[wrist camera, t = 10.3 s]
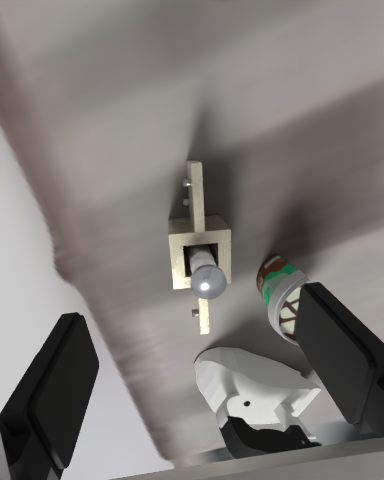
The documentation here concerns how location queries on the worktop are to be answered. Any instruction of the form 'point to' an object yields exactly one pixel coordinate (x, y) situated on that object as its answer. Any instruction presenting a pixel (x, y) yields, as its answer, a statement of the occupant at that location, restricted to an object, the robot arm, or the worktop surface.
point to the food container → (281, 294)
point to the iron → (255, 400)
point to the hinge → (198, 239)
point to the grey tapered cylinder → (205, 273)
